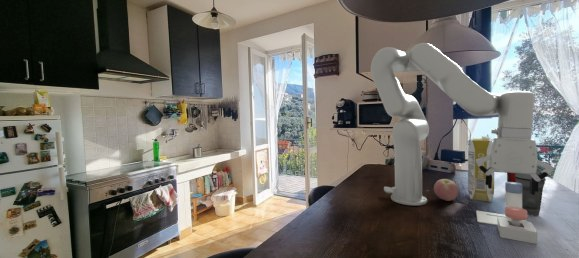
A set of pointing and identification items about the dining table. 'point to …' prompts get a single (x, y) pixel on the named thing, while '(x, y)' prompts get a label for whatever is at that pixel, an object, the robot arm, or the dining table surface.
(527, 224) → the button box
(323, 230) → the dining table surface
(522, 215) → the button
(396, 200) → the robot arm
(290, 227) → the dining table surface
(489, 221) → the paper
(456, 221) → the dining table surface
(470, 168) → the juice carton
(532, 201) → the beverage cup
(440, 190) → the apple
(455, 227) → the dining table surface
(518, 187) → the marker
